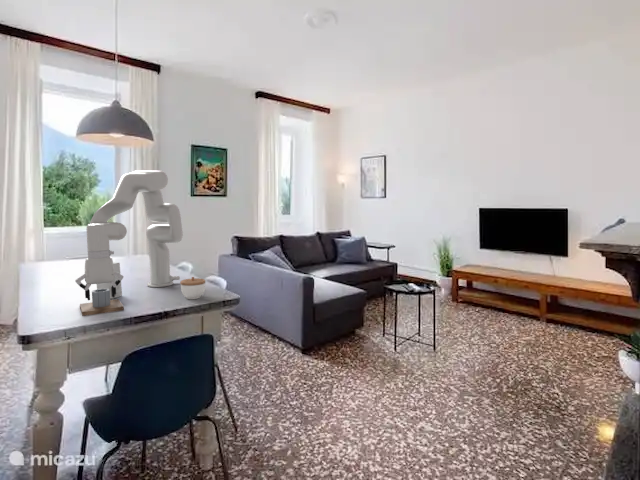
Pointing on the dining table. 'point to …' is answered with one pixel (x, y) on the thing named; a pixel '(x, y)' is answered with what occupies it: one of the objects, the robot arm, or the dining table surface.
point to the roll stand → (101, 308)
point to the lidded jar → (193, 288)
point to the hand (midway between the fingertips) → (101, 297)
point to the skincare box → (109, 285)
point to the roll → (100, 297)
